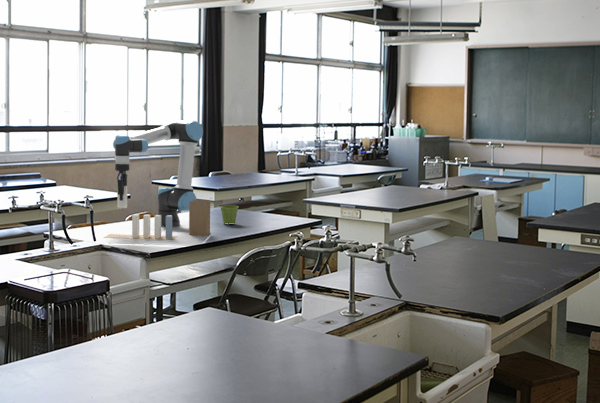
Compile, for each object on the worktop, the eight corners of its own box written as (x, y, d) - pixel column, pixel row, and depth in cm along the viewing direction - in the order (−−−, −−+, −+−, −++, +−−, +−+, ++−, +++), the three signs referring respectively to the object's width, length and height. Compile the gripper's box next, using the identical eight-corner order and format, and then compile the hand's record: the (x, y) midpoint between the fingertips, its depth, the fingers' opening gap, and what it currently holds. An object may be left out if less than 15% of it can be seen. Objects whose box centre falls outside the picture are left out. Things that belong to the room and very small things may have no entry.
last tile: (167, 237, 369) (167, 215, 368) (172, 237, 369) (172, 215, 368) (165, 238, 364) (165, 216, 363) (170, 238, 364) (170, 216, 363)
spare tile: (117, 207, 374) (117, 186, 373) (118, 207, 377) (118, 185, 375) (126, 208, 374) (126, 186, 373) (127, 207, 377) (127, 186, 375)
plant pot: (220, 222, 434) (221, 205, 433) (239, 223, 434) (239, 205, 433) (218, 225, 422) (218, 207, 421) (237, 226, 422) (237, 208, 421)
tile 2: (134, 236, 369) (134, 214, 368) (139, 236, 369) (139, 214, 368) (132, 237, 365) (132, 215, 363) (137, 237, 365) (137, 215, 363)
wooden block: (210, 234, 387) (210, 199, 385) (206, 237, 377) (206, 201, 375) (193, 233, 388) (193, 199, 386) (188, 236, 378) (188, 201, 376)
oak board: (109, 235, 373) (109, 234, 373) (178, 238, 373) (178, 236, 373) (103, 239, 362) (103, 237, 361) (173, 241, 361) (173, 239, 361)
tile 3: (145, 236, 369) (145, 214, 368) (150, 236, 369) (150, 214, 368) (143, 237, 365) (143, 215, 363) (148, 237, 365) (148, 215, 363)
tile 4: (156, 236, 369) (156, 214, 368) (161, 236, 369) (161, 215, 368) (154, 238, 364) (154, 216, 363) (159, 238, 364) (159, 216, 363)
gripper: (119, 162, 380) (119, 204, 383) (111, 164, 365) (111, 207, 367) (132, 162, 380) (132, 204, 383) (125, 164, 365) (125, 207, 368)
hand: (122, 205), depth 375 cm, fingers closed on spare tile, 3 cm apart
